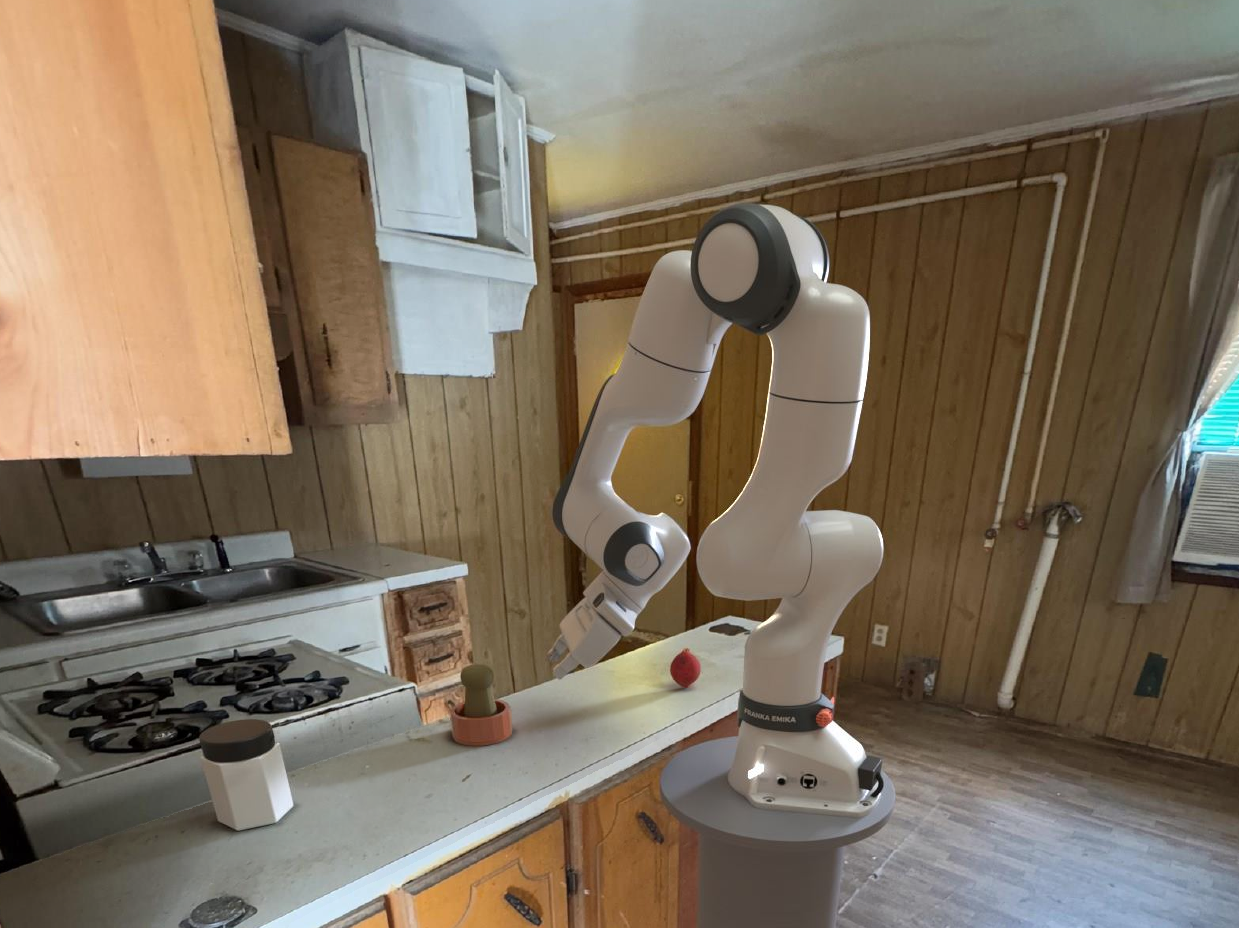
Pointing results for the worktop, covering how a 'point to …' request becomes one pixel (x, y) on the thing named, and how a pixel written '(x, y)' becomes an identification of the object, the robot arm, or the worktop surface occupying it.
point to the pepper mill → (478, 691)
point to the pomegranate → (685, 668)
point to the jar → (245, 773)
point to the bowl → (481, 725)
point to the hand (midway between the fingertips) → (552, 667)
